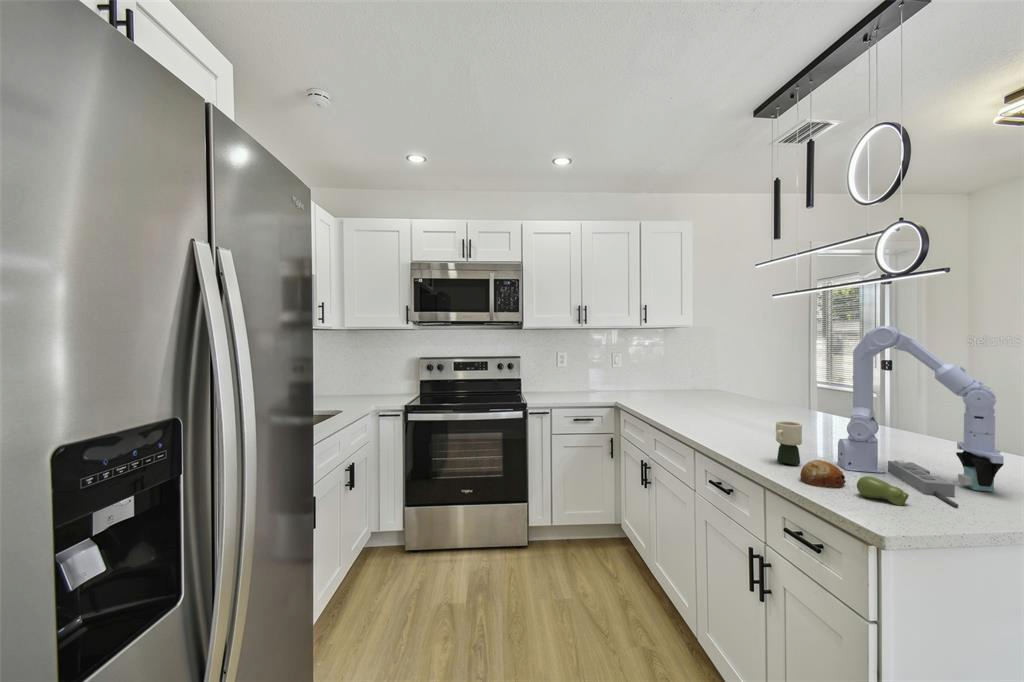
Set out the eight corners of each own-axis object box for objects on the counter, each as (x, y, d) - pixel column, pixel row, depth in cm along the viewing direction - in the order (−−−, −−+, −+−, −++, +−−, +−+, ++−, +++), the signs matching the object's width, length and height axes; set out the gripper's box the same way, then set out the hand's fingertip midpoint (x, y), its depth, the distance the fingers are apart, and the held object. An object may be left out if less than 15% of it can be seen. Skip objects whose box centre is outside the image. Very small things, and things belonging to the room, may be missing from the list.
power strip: (944, 506, 106) (945, 491, 106) (887, 471, 133) (887, 458, 133) (977, 509, 104) (977, 493, 104) (912, 473, 131) (912, 460, 131)
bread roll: (810, 488, 130) (796, 461, 132) (850, 479, 124) (835, 451, 126) (806, 497, 122) (791, 469, 124) (848, 489, 116) (832, 459, 118)
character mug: (788, 458, 147) (788, 419, 147) (810, 464, 141) (810, 423, 140) (766, 463, 142) (766, 422, 142) (788, 469, 136) (788, 427, 136)
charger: (966, 489, 117) (966, 470, 117) (956, 484, 121) (956, 465, 121) (994, 491, 115) (994, 472, 115) (983, 486, 119) (983, 467, 119)
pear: (861, 471, 116) (912, 487, 109) (857, 490, 117) (907, 507, 109) (856, 475, 112) (908, 492, 105) (852, 495, 113) (903, 513, 106)
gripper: (1019, 439, 109) (1019, 494, 109) (980, 427, 123) (979, 476, 123) (982, 437, 112) (982, 491, 112) (947, 425, 125) (947, 473, 125)
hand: (978, 483), depth 118 cm, fingers closed on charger, 4 cm apart
